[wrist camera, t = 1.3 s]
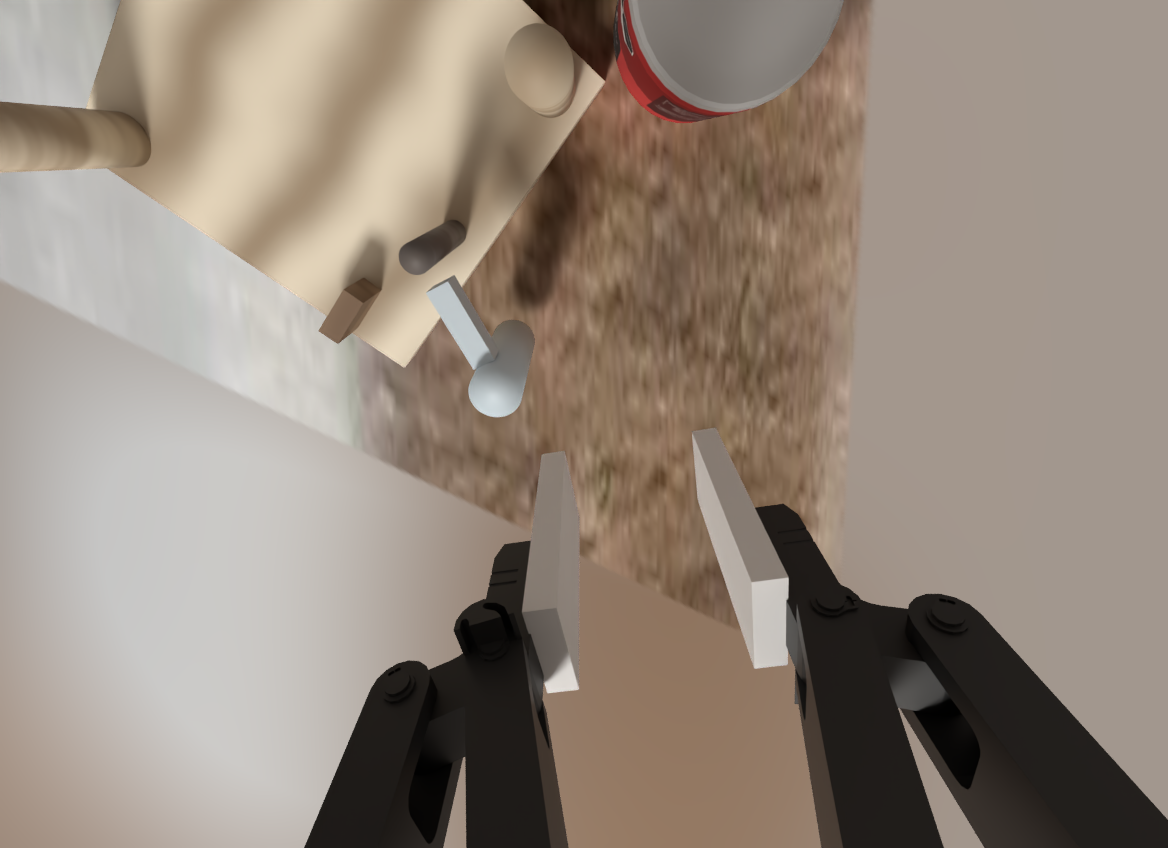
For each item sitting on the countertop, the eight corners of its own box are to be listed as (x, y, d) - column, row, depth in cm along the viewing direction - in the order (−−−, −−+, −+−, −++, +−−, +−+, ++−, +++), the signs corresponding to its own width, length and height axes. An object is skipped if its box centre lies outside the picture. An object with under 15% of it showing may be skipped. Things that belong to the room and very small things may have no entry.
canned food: (691, -102, 25) (761, -261, 16) (787, 41, 28) (899, -18, 18) (580, 36, 28) (579, -25, 18) (678, 155, 30) (724, 158, 21)
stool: (111, 146, 30) (-100, 144, 21) (252, -257, 23) (27, -536, 14) (415, 354, 36) (357, 426, 27) (603, 86, 29) (614, 57, 19)
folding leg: (506, 366, 33) (486, 424, 26) (448, 268, 31) (408, 304, 23) (542, 349, 33) (531, 404, 26) (486, 247, 30) (457, 278, 23)
